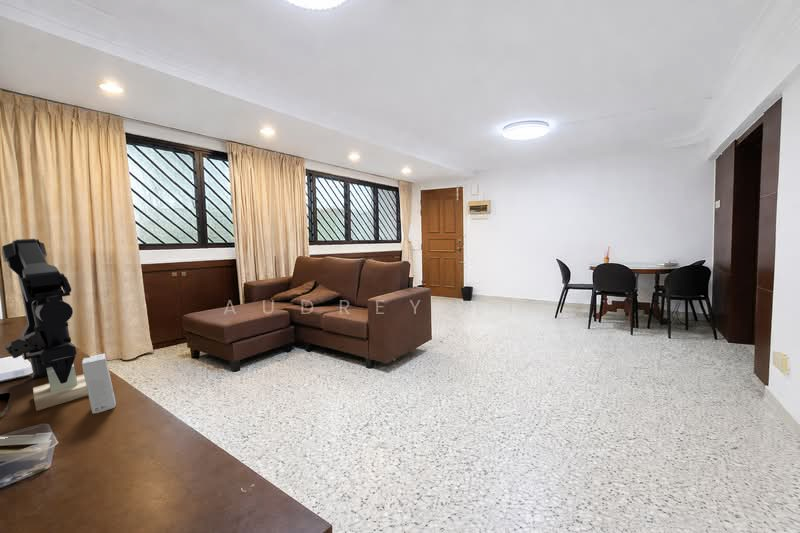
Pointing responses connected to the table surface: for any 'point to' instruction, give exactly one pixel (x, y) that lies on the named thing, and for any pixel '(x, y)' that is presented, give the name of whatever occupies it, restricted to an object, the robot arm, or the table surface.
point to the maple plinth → (59, 394)
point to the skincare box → (98, 383)
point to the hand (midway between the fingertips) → (62, 378)
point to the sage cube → (56, 383)
